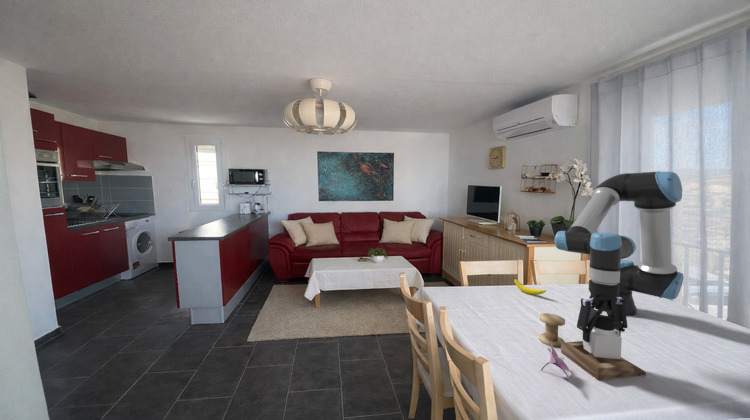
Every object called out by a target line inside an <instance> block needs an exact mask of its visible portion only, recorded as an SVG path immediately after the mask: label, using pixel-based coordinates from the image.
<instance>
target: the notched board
mask: <svg viewBox="0 0 750 420" xmlns="http://www.w3.org/2000/svg"><path fill="white" fill-rule="evenodd" d="M560 353H561V354H562V355H564V357H565V358H568V359H569V360H570V361H571V362H573V363H574V364H575V365H577V366H578V367H580V368H581V369H582V370H584V372H586V373H588V374H589V375H590V376H592V377H593V378H594V377H595V379H596V380H598V381H601V380H603V381H604V380H612V379H613V378H614V379H622V378H623V379H624V378H635V377H643V376H646V375H647V372H646V371H645V370H644V369H642V368H640V366H637V365H635V364H634V363H632V362H630V361H629V360H627V359H626V358H624V357H622V356H621V359H611V358H600V357H595V356H594V355H593V354H592V353H590V352H588V351H587V350H585V349H584V345H583V340H578V341H567V342H565V341H564V343H561V347H560ZM614 379H613V380H614Z"/></svg>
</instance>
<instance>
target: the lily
mask: <svg viewBox="0 0 750 420" xmlns="http://www.w3.org/2000/svg"><path fill="white" fill-rule="evenodd" d="M546 338H547V337H546ZM547 340H548V341H549V339H548V338H547ZM549 343H550V346H549V347H548V348H547V350H548V352H549V353H550V357H549V361H548V362H547V363H545V364H544V366H543V367H541V369H540V371H541V370H542V371H543V370H544V368H545V367H547V365H549V364H553V365H555V366H556V367H558V369H560V370H561V371H562V372H563V374H565V376H566V377H567V379H568V380H569V382H570V383H572V382H571V378H570V377H569V374H568V372H571V370H570V368H569V366H568V365H567V363H566V362H565V358H563V357H559V355H558V353H557V351H556V350H555V347H553V346H552V344H551V342H550V341H549Z"/></svg>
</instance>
